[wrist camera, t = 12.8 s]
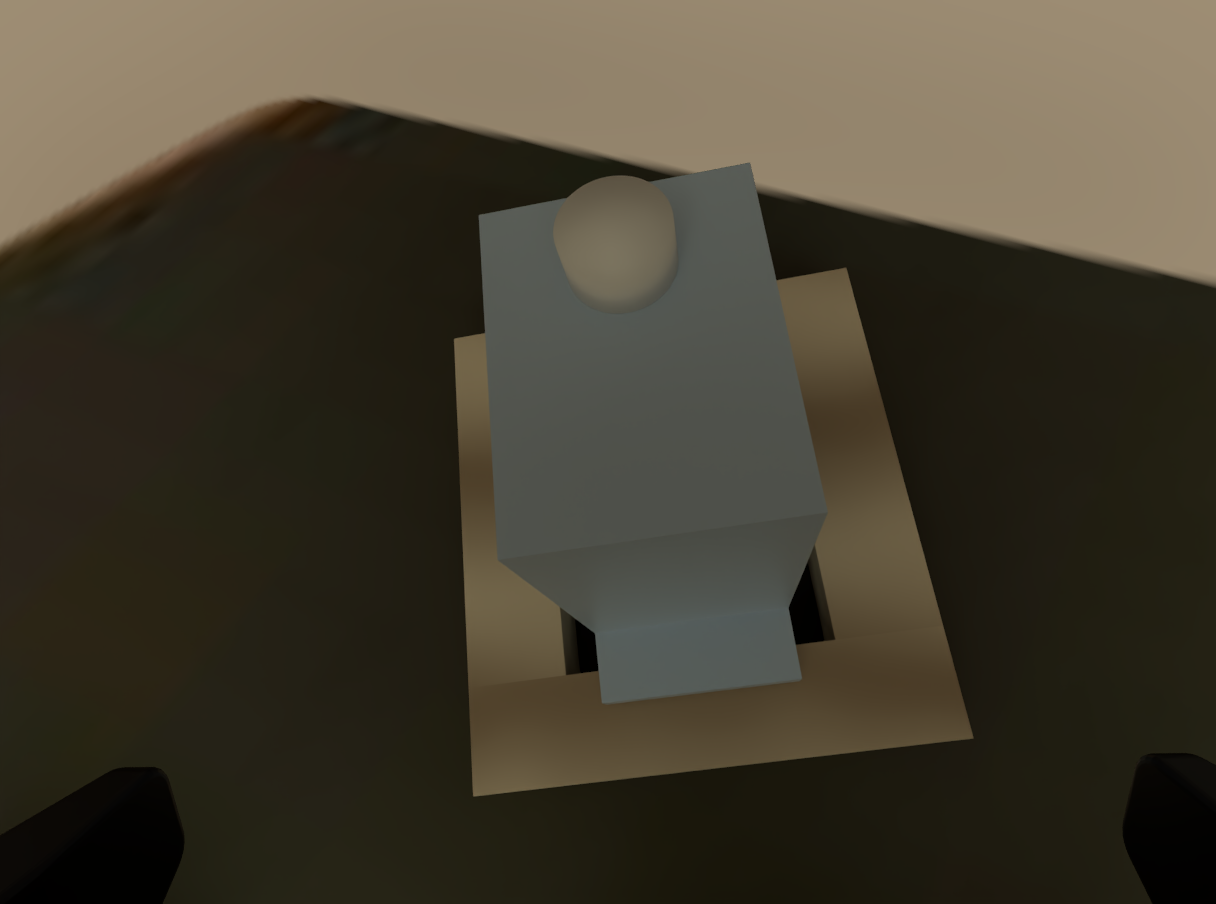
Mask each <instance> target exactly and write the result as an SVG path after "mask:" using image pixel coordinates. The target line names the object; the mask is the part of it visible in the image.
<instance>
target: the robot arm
mask: <svg viewBox="0 0 1216 904" xmlns="http://www.w3.org/2000/svg"><path fill="white" fill-rule="evenodd" d="M1123 838H1124V843H1125V846H1126V850H1127V852H1128V855H1129V857H1130V859H1131V861H1132V863H1133V865H1134V867H1135V869H1136V871H1137V873H1138V875H1139V877H1140V879H1141V881H1142V883H1143V885H1144V887H1145V889H1146V892H1147V894H1148V896H1149V898H1150V900H1151V902H1152V904H1216V765H1215V764H1213V763H1211V762H1209V761H1207V760H1205V759H1203V758H1201V757H1199V756H1197V755H1193V754H1188V753H1157V754H1147V755H1144V756H1143V757H1141V758H1140V760H1139V761H1138V762H1137V764H1136V767H1135V770H1134V775H1133V779H1132V784H1131V788H1130V793H1129V797H1128V802H1127V806H1126V810H1125V815H1124V819H1123ZM183 850H184V831H183V827H182V824H181V820H180V817H179V813H178V810H177V806H176V803H175V800H174V796H173V793H172V789H171V786H170V782H169V779H168V777H167V775H166V774H165V773H164V772H163V771H162V770H161V769H159V768H156V767H124V768H117V769H114V770H112V771H110V772H108V773H106V774H104V775H102V776H101V777H99V778H97V779H96V780H94V781H92V782H91V783H89V784H87V785H85V786H84V787H82V788H80V789H79V790H77V791H75V792H73V793H72V794H70V795H68V796H67V797H65V798H63V799H62V800H60V801H58V802H56V803H55V804H53V805H51V806H50V807H48V808H46V809H45V810H43V811H41V812H39V813H38V814H36V815H34V816H33V817H31V818H29V819H28V820H26V821H24V822H22V823H21V824H19V825H17V826H16V827H14V828H12V829H10V830H9V831H7V832H5V833H4V834H2V835H0V904H163V901H164V899H165V897H166V894H167V892H168V890H169V887H170V885H171V883H172V880H173V878H174V876H175V873H176V871H177V869H178V867H179V864H180V861H181V858H182V854H183Z"/></svg>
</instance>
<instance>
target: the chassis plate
mask: <svg viewBox="0 0 1216 904" xmlns="http://www.w3.org/2000/svg"><path fill="white" fill-rule="evenodd" d="M776 281H777V286H778V290H779V295H780V299H781V304H782V308H783V313H784V317H785V322H786V326H787V331H788V335H789V340H790V344H791V349H792V353H793V358H794V362H795V367H796V371H797V376H798V380H799V385H800V389H801V394H802V398H803V403H804V407H805V412H806V416H807V421H808V425H809V430H810V434H811V439H812V443H813V448H814V452H815V457H816V461H817V466H818V470H819V475H820V479H821V483H822V488H823V492H824V497H825V501H826V506H827V510H828V513H827V516H826V518H825V521H824V523H823V525H822V528H821V530H820V533H819V535H818V538H817V540H816V542H815V545H814V547H813V550H812V552H811V554H810V557H809V559H808V566H809V570H810V575H811V580H812V585H813V589H814V594H815V599H816V603H817V608H818V613H819V617H820V622H821V627H822V632H823V636H824V641H822V642H815V643H807V644H800V645H796V650H797V655H798V660H799V665H800V670H801V676H802V679H801V680H800V681H797V682H789V683H781V684H773V685H765V686H756V687H748V688H740V689H732V690H724V691H715V692H707V693H699V694H691V695H682V696H674V697H666V698H658V699H650V700H641V701H633V702H625V703H617V704H609V705H607V704H603V703H602V699H601V689H600V679H599V671H594V672H587V673H580V666H579V656H578V645H577V634H576V624H575V618H574V617H573V616H571V615H570V614H569V613H567V612H566V611H565V610H563V609H562V608H561V607H559V606H558V605H557V604H555V603H554V602H553V601H551V600H550V599H549V598H547V597H546V596H545V595H543V594H542V593H541V592H539V591H538V590H537V589H535V588H534V587H533V586H531V585H530V584H529V583H527V582H526V581H525V580H523V579H522V578H521V577H519V576H518V575H517V574H515V573H514V572H513V571H511V570H510V569H509V568H507V567H506V566H505V565H503V564H502V563H501V562H499V561H498V559H497V541H496V522H495V504H494V486H493V467H492V449H491V430H490V412H489V394H488V375H487V357H486V338H485V333H484V334H478V335H472V336H467V337H461V338H456V339H454V348H455V372H456V395H457V419H458V443H459V467H460V491H461V515H462V539H463V563H464V587H465V611H466V635H467V659H468V683H469V707H470V731H471V755H472V779H473V796H482V795H490V794H499V793H508V792H516V791H525V790H533V789H542V788H551V787H559V786H568V785H576V784H585V783H594V782H602V781H611V780H619V779H628V778H637V777H645V776H654V775H663V774H671V773H680V772H688V771H697V770H706V769H714V768H723V767H731V766H740V765H749V764H757V763H766V762H774V761H783V760H792V759H800V758H809V757H817V756H826V755H835V754H843V753H852V752H861V751H869V750H878V749H886V748H895V747H904V746H912V745H921V744H929V743H938V742H947V741H955V740H964V739H972V738H973V734H972V731H971V727H970V723H969V720H968V716H967V712H966V709H965V705H964V701H963V698H962V694H961V690H960V686H959V683H958V679H957V675H956V672H955V668H954V664H953V661H952V657H951V653H950V649H949V646H948V642H947V638H946V635H945V631H944V627H943V624H942V620H941V616H940V613H939V609H938V605H937V601H936V598H935V594H934V590H933V587H932V583H931V579H930V576H929V572H928V568H927V564H926V561H925V557H924V553H923V550H922V546H921V542H920V539H919V535H918V531H917V528H916V524H915V520H914V516H913V513H912V509H911V505H910V502H909V498H908V494H907V491H906V487H905V483H904V480H903V476H902V472H901V468H900V465H899V461H898V457H897V454H896V450H895V446H894V443H893V439H892V435H891V431H890V428H889V424H888V420H887V417H886V413H885V409H884V406H883V402H882V398H881V395H880V391H879V387H878V383H877V380H876V376H875V372H874V369H873V365H872V361H871V358H870V354H869V350H868V346H867V343H866V339H865V335H864V332H863V328H862V324H861V321H860V317H859V313H858V310H857V306H856V302H855V298H854V295H853V291H852V287H851V284H850V280H849V276H848V273H847V269H846V268H842V269H837V270H831V271H826V272H820V273H815V274H809V275H804V276H798V277H793V278H787V279H782V280H776Z"/></svg>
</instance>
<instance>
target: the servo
mask: <svg viewBox="0 0 1216 904" xmlns="http://www.w3.org/2000/svg"><path fill="white" fill-rule="evenodd" d="M479 228H480V246H481V265H482V283H483V301H484V320H485V338H486V357H487V375H488V394H489V412H490V430H491V449H492V467H493V486H494V504H495V522H496V541H497V559H498V561H499V562H501V563H502V564H503V565H505V566H506V567H507V568H509V569H510V570H511V571H513V572H514V573H515V574H517V575H518V576H519V577H521V578H522V579H523V580H525V581H526V582H527V583H529V584H530V585H531V586H533V587H534V588H535V589H537V590H538V591H539V592H541V593H542V594H543V595H545V596H546V597H547V598H549V599H550V600H551V601H553V602H554V603H555V604H557V605H558V606H559V607H561V608H562V609H563V610H565V611H566V612H567V613H569V614H570V615H571V616H573V617H574V618H575V619H577V620H578V621H579V622H581V623H582V624H583V625H584V626H586V627H587V628H588V629H590V630H591V631H592V632H594V633H595V638H596V649H597V659H598V669H599V679H600V689H601V699H602V703H603V704H607V705H609V704H617V703H625V702H633V701H641V700H650V699H658V698H666V697H674V696H682V695H691V694H699V693H707V692H715V691H724V690H732V689H740V688H748V687H756V686H765V685H773V684H781V683H789V682H797V681H800V680H801V679H802V676H801V670H800V665H799V660H798V655H797V650H796V644H795V639H794V634H793V629H792V624H791V619H790V613H789V605H790V603H791V600H792V598H793V596H794V593H795V591H796V588H797V586H798V584H799V581H800V579H801V576H802V574H803V571H804V569H805V567H806V564H807V562H808V559H809V557H810V554H811V552H812V550H813V547H814V545H815V542H816V540H817V538H818V535H819V533H820V530H821V528H822V525H823V523H824V521H825V518H826V516H827V513H828V510H827V506H826V501H825V497H824V492H823V488H822V483H821V479H820V475H819V470H818V466H817V461H816V457H815V452H814V448H813V443H812V439H811V434H810V430H809V425H808V421H807V416H806V412H805V407H804V403H803V398H802V394H801V389H800V385H799V380H798V376H797V371H796V367H795V362H794V358H793V353H792V349H791V344H790V340H789V335H788V331H787V326H786V322H785V317H784V313H783V308H782V304H781V299H780V295H779V290H778V286H777V281H776V277H775V272H774V268H773V263H772V259H771V254H770V250H769V245H768V241H767V236H766V232H765V227H764V223H763V218H762V214H761V209H760V205H759V200H758V196H757V191H756V187H755V182H754V178H753V173H752V169H751V165H750V163H745V164H740V165H735V166H730V167H725V168H720V169H714V170H709V171H704V172H699V173H694V174H688V175H683V176H678V177H673V178H668V179H663V180H658V181H652V182H647V181H645V180H643V179H640V178H637V177H631V176H609V177H604V178H600V179H597V180H594V181H591V182H589V183H587V184H585V185H583V186H582V187H580V188H579V189H577V190H576V191H575V192H573V193H572V194H571V195H570V196H569V197H568V198H565V199H560V200H555V201H549V202H544V203H539V204H534V205H529V206H524V207H519V208H513V209H508V210H503V211H498V212H493V213H488V214H483V215H479Z"/></svg>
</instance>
